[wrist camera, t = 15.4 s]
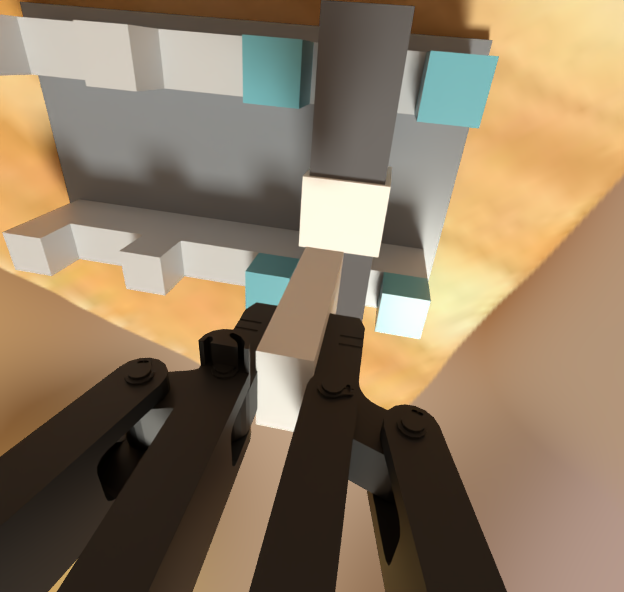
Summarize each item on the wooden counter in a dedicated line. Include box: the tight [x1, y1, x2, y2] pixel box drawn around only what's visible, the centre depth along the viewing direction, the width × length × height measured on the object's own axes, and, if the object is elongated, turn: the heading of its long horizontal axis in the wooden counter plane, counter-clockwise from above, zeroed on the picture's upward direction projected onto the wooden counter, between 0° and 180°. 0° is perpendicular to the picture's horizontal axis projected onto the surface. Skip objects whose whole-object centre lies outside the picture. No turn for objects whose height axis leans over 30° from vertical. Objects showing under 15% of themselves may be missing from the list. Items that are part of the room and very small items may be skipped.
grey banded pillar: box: [299, 0, 415, 322], centre depth 23 cm, size 19×5×5 cm, turn 176°
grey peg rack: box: [0, 2, 499, 339], centre depth 27 cm, size 18×32×9 cm, turn 86°
